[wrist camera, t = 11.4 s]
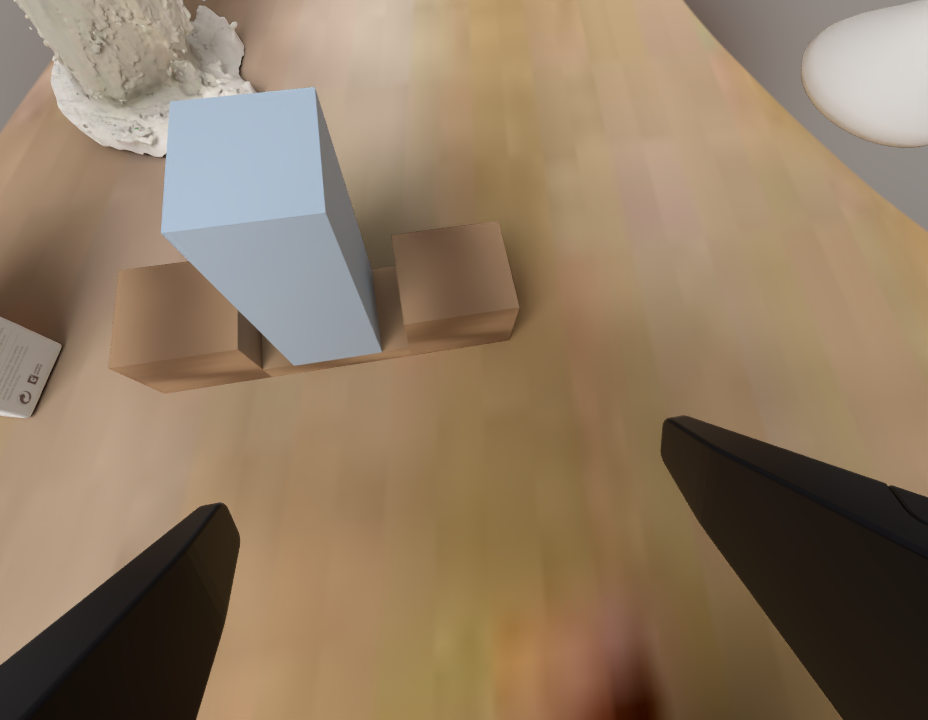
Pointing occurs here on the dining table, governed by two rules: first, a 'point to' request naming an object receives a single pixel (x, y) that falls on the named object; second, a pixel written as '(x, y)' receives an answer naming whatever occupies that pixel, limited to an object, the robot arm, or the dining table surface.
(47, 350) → the skincare box
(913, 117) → the flower in vase
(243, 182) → the blue block
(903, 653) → the robot arm
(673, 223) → the dining table surface
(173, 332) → the slotted plank
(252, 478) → the dining table surface
